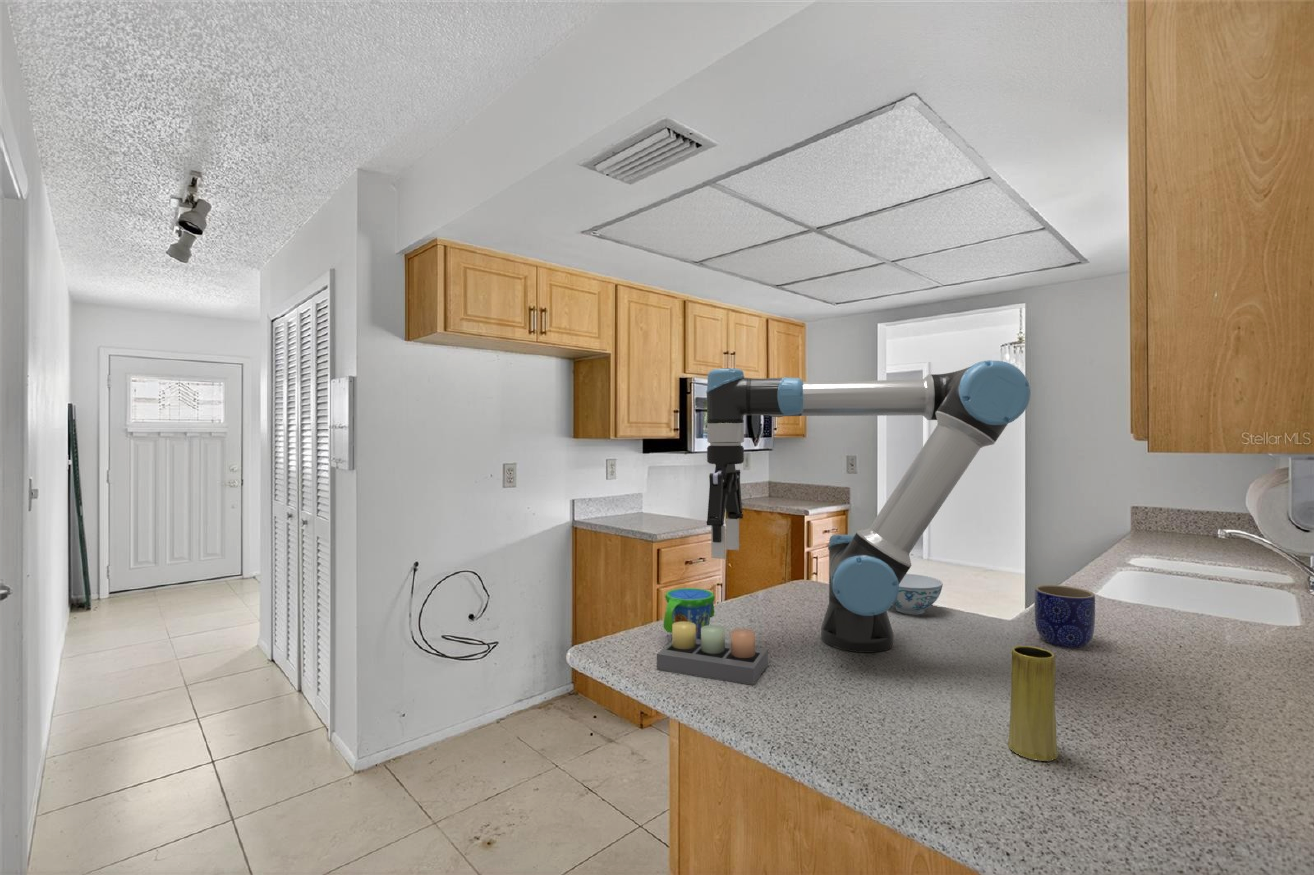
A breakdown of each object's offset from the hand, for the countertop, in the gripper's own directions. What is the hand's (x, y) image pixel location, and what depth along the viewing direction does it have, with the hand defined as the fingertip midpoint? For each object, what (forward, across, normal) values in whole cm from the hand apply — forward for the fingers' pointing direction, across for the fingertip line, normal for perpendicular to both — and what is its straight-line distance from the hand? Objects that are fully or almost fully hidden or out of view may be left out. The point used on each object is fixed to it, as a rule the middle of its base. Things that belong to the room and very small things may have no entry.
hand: (725, 553), depth 129 cm
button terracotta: (+17, +8, +6) cm, 20 cm away
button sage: (+17, +9, 0) cm, 19 cm away
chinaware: (+21, -47, +34) cm, 62 cm away
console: (+20, +8, 0) cm, 22 cm away
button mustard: (+17, +8, -6) cm, 20 cm away
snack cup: (+21, -4, -10) cm, 23 cm away
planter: (+21, -34, +65) cm, 76 cm away
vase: (+21, +21, +52) cm, 60 cm away
